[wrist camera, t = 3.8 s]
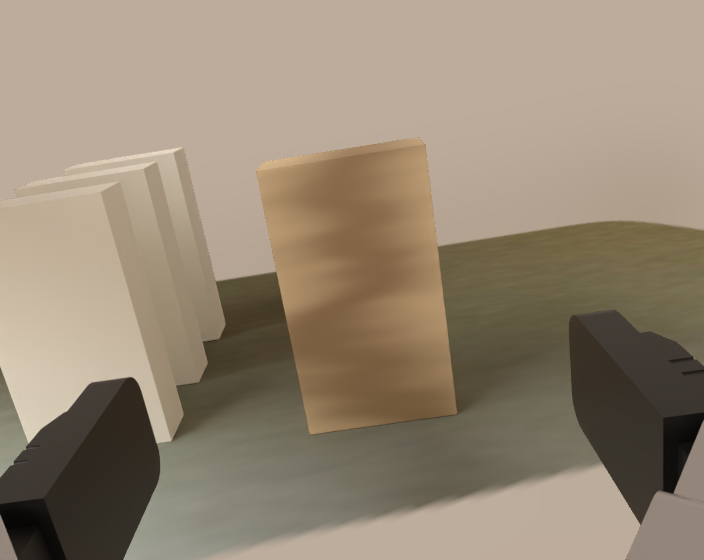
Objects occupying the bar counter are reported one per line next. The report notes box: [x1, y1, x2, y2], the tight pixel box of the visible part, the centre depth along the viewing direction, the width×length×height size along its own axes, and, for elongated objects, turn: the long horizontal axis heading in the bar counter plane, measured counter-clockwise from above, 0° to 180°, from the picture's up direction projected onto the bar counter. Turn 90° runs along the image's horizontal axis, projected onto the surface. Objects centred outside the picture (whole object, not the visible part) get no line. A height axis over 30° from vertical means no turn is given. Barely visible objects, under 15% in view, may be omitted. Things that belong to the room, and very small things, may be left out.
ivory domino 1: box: [14, 162, 208, 386], centre depth 27 cm, size 5×2×9 cm, turn 90°
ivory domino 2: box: [0, 182, 184, 443], centre depth 22 cm, size 5×2×9 cm, turn 90°
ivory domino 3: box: [63, 147, 226, 342], centre depth 31 cm, size 5×2×9 cm, turn 90°
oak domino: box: [256, 137, 457, 435], centre depth 21 cm, size 5×2×9 cm, turn 90°
